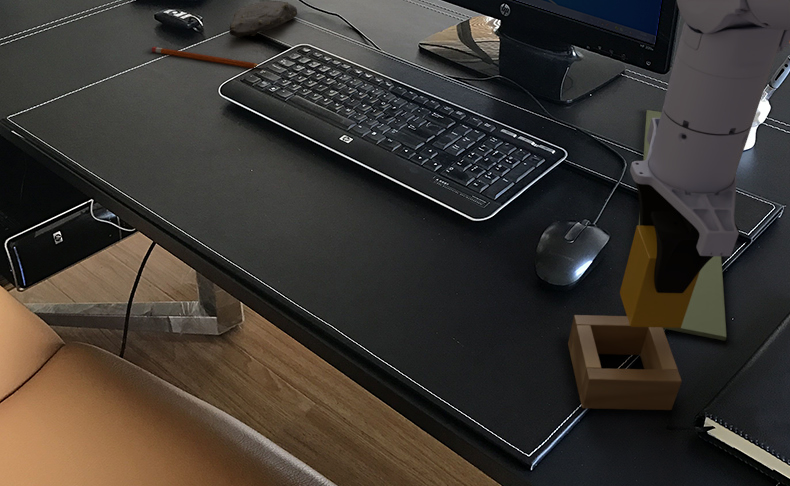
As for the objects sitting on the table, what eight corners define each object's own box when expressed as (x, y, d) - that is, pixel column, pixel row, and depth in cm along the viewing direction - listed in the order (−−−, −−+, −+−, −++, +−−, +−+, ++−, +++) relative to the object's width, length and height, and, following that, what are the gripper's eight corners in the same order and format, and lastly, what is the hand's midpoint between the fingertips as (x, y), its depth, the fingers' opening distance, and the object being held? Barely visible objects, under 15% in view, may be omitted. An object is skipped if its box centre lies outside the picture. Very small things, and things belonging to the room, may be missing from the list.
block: (681, 328, 62) (704, 259, 57) (630, 327, 62) (649, 258, 57) (667, 293, 65) (688, 226, 60) (619, 292, 65) (636, 225, 60)
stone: (289, 8, 125) (302, -11, 121) (302, 42, 124) (315, 25, 120) (213, 10, 118) (224, -10, 114) (226, 46, 117) (238, 28, 113)
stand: (671, 410, 63) (682, 381, 61) (581, 408, 63) (589, 379, 61) (650, 345, 69) (659, 316, 66) (567, 343, 69) (573, 314, 66)
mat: (725, 340, 69) (726, 336, 69) (632, 322, 71) (633, 318, 70) (711, 122, 99) (712, 119, 99) (646, 113, 101) (647, 109, 101)
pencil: (154, 50, 114) (154, 46, 113) (267, 69, 110) (267, 64, 109) (151, 52, 113) (151, 48, 113) (265, 71, 109) (264, 66, 109)
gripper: (623, 63, 58) (591, 212, 66) (676, 173, 46) (630, 336, 55) (719, 65, 58) (675, 214, 66) (795, 175, 46) (731, 338, 55)
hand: (661, 269), depth 60 cm, fingers closed on block, 4 cm apart
